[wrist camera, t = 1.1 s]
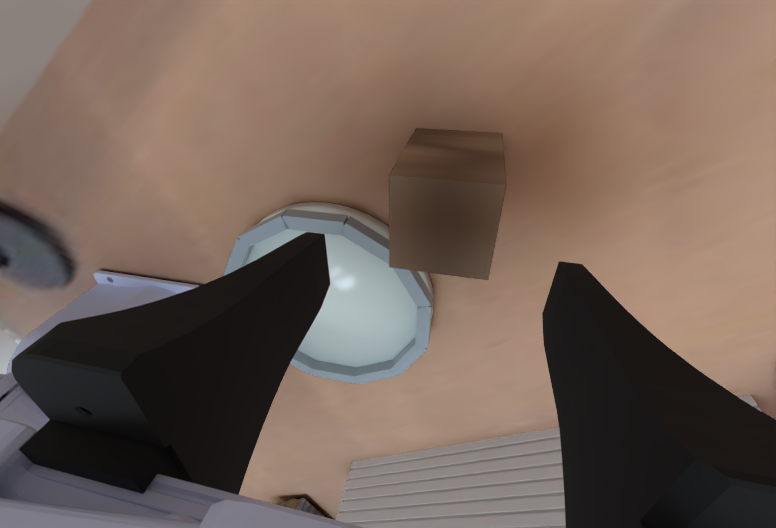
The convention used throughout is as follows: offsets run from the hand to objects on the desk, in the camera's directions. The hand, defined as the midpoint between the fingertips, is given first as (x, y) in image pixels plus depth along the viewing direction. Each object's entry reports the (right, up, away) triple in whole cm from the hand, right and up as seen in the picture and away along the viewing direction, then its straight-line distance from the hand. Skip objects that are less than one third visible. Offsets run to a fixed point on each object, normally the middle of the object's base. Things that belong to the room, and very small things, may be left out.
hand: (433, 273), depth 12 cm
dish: (-5, -2, +13) cm, 14 cm away
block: (+2, +5, +7) cm, 9 cm away
